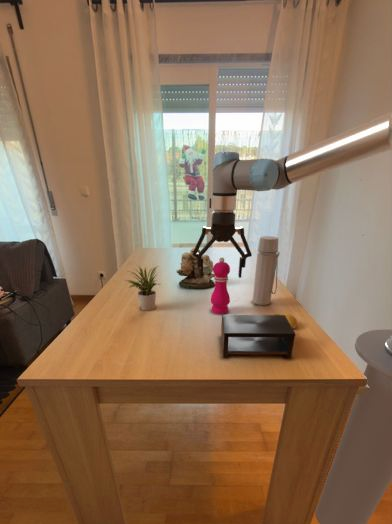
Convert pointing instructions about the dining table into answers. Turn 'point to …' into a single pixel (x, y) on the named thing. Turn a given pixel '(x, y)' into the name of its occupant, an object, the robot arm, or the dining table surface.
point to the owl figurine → (196, 272)
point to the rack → (257, 335)
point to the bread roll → (290, 319)
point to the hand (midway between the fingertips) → (220, 276)
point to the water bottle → (265, 270)
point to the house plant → (145, 288)
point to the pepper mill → (220, 288)
